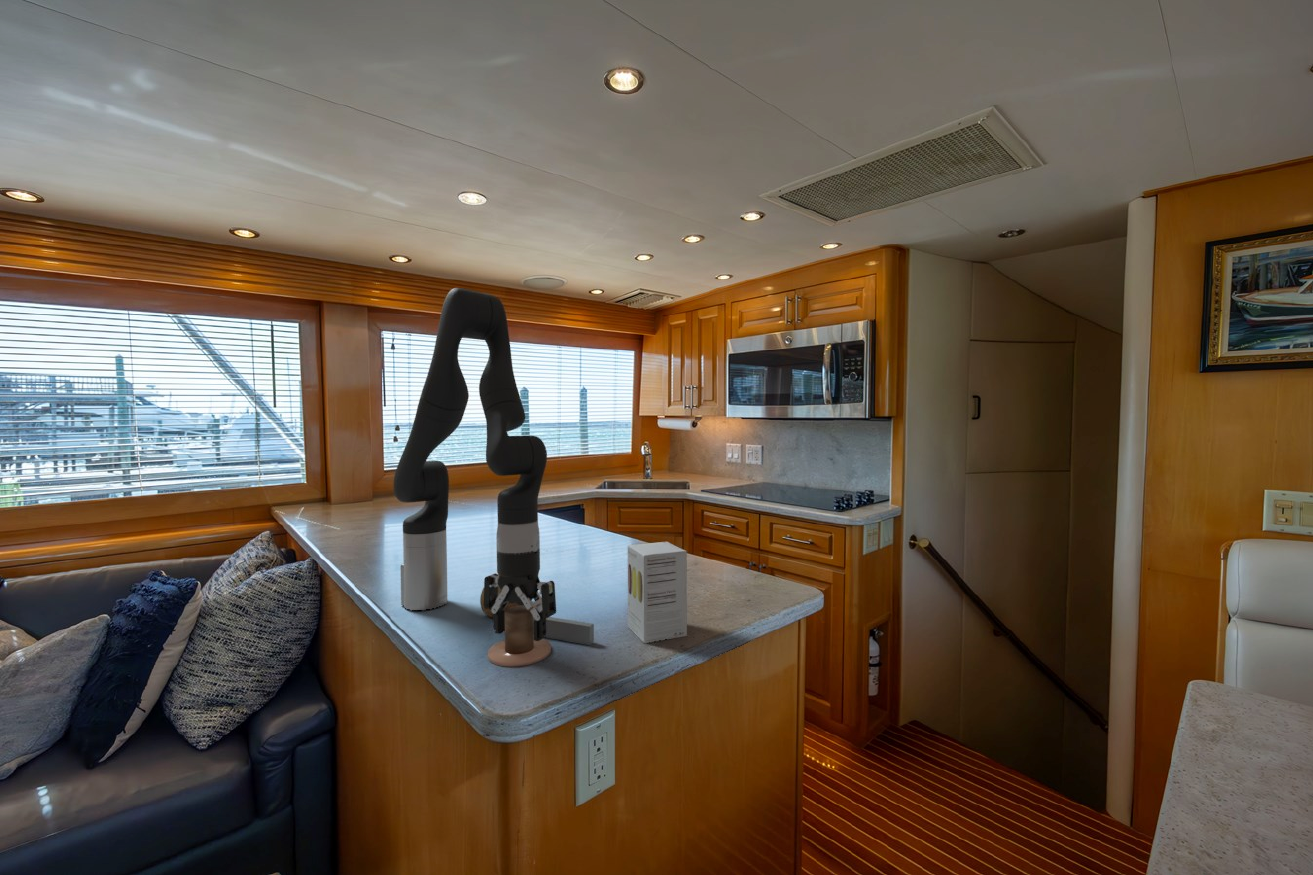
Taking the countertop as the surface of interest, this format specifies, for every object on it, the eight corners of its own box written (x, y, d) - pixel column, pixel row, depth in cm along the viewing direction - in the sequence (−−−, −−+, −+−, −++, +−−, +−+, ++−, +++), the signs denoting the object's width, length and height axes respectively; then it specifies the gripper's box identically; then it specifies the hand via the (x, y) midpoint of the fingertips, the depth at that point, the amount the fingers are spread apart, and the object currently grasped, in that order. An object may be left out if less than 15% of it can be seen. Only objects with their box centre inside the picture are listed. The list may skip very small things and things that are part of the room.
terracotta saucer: (474, 660, 93) (474, 655, 93) (514, 637, 103) (514, 633, 103) (526, 671, 89) (526, 666, 89) (562, 646, 99) (562, 641, 99)
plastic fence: (503, 629, 107) (503, 612, 107) (508, 627, 109) (508, 610, 109) (589, 645, 99) (589, 626, 99) (593, 642, 101) (593, 623, 101)
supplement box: (626, 627, 108) (625, 544, 108) (668, 620, 112) (667, 540, 112) (644, 644, 99) (643, 554, 99) (688, 636, 103) (687, 549, 103)
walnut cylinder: (499, 651, 95) (498, 612, 95) (516, 641, 99) (516, 603, 99) (522, 656, 93) (521, 616, 93) (539, 645, 97) (538, 607, 97)
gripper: (472, 547, 95) (474, 637, 95) (538, 554, 90) (540, 650, 90) (500, 539, 102) (501, 623, 102) (563, 545, 96) (564, 634, 97)
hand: (519, 635), depth 96 cm, fingers open, 8 cm apart
